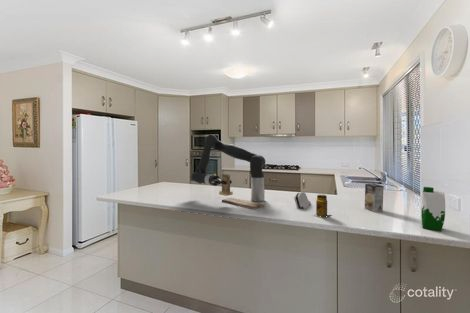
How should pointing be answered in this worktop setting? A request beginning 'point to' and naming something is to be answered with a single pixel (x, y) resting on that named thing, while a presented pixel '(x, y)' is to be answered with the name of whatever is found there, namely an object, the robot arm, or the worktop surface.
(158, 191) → the worktop surface
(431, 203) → the milk carton
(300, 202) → the light grey flat case
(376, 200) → the coffee box
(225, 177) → the upright board on stand
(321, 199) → the condiment
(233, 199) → the walnut board
